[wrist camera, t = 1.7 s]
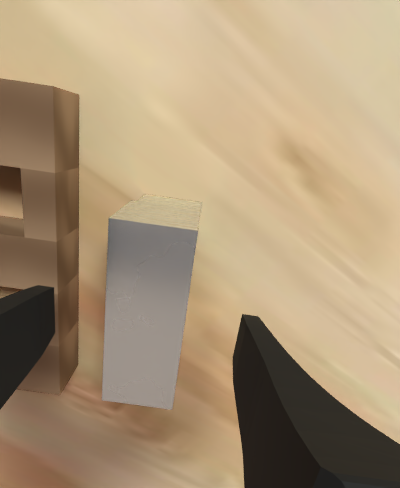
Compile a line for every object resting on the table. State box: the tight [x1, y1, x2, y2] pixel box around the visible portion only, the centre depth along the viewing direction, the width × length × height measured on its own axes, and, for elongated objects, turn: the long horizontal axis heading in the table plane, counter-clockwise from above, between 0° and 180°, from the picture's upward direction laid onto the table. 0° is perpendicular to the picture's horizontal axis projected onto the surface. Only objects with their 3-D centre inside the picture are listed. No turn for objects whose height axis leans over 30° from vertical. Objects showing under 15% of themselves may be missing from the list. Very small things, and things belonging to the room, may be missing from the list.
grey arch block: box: [102, 194, 202, 410], centre depth 14 cm, size 8×3×6 cm, turn 172°
